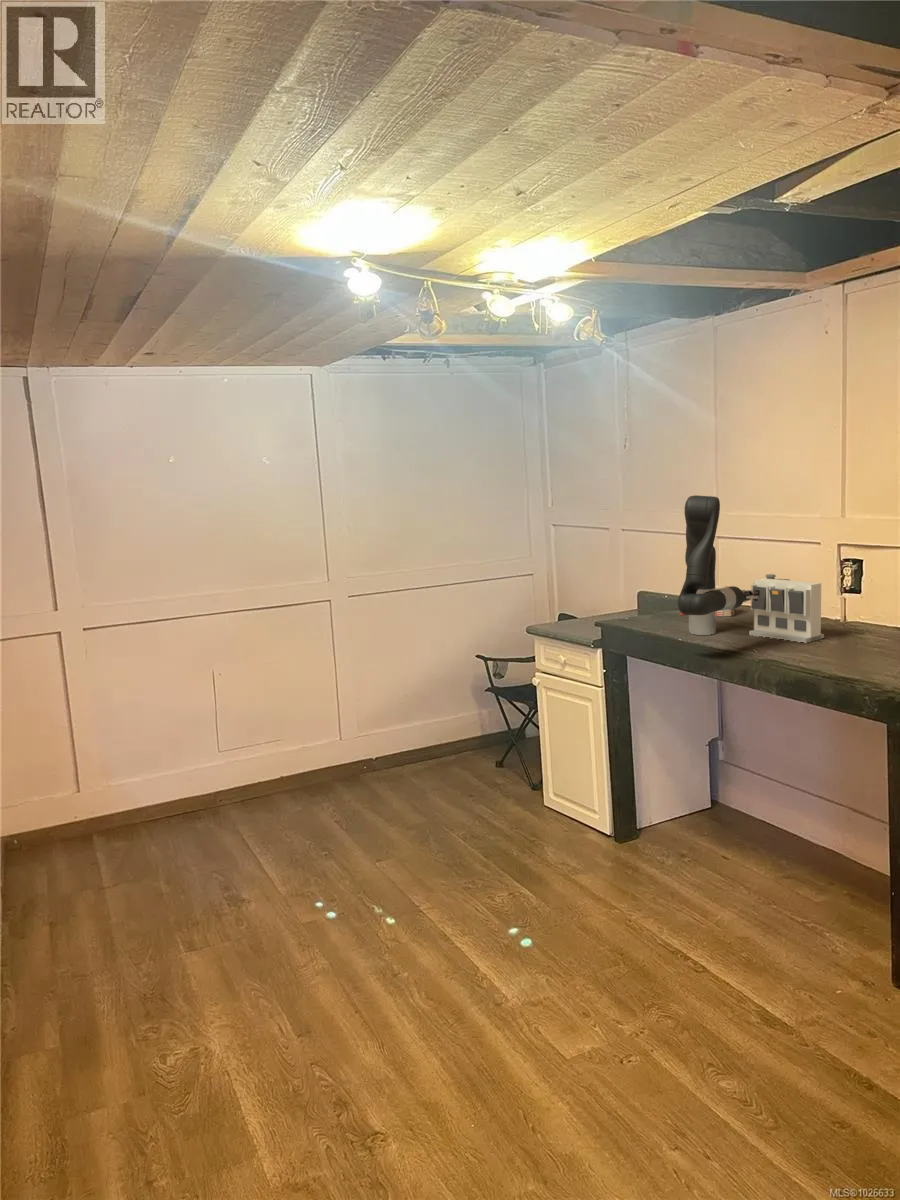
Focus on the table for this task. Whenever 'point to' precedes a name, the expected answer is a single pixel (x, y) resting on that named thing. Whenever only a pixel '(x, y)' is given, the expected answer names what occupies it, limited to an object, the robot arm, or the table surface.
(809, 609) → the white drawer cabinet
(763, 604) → the rocker switch
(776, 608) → the outlet rocker
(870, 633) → the table surface
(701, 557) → the robot arm
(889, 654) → the table surface
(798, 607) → the outlet rocker
